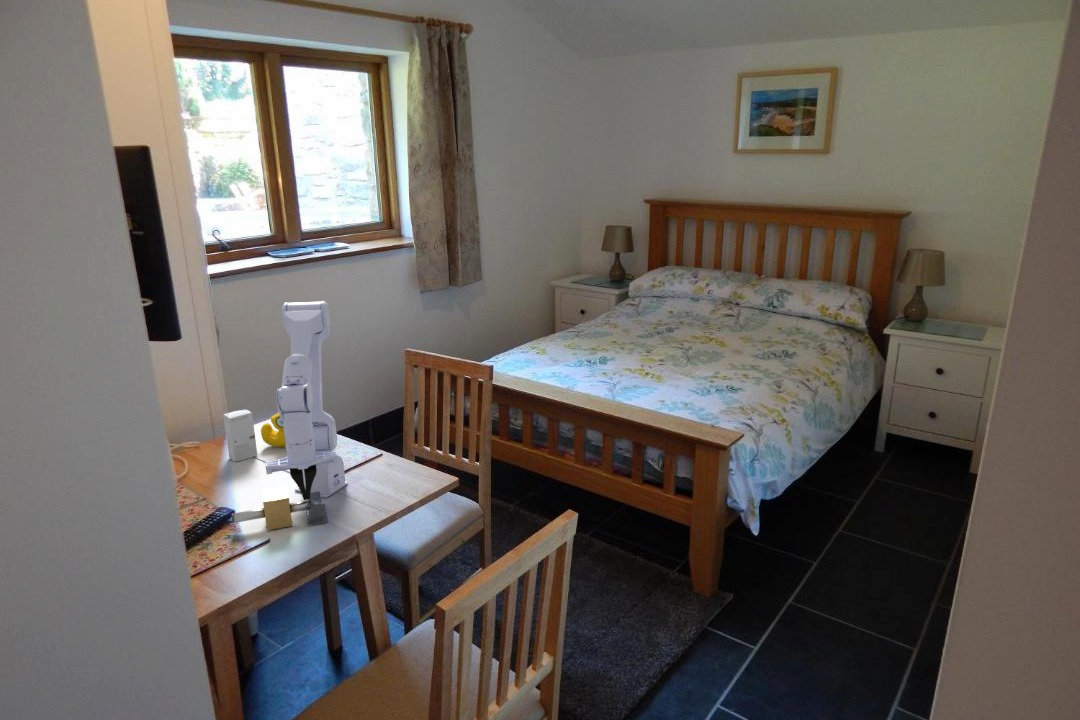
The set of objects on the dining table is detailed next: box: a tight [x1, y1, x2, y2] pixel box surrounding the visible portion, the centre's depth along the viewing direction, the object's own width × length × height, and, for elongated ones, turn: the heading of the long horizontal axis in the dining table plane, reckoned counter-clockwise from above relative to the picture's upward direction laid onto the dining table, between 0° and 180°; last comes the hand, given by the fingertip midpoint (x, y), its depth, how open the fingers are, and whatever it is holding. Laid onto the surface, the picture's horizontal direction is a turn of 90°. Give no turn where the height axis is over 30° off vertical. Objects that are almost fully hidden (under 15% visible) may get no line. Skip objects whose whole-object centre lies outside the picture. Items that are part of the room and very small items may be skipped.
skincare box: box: [222, 408, 258, 463], centre depth 184 cm, size 6×4×12 cm
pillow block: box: [306, 491, 329, 527], centre depth 155 cm, size 4×8×4 cm, turn 21°
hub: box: [262, 485, 293, 531], centre depth 152 cm, size 5×6×7 cm
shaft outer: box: [231, 507, 265, 524], centre depth 150 cm, size 9×2×2 cm, turn 111°
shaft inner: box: [290, 498, 323, 514], centre depth 153 cm, size 9×2×2 cm, turn 111°
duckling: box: [260, 412, 286, 449], centre depth 190 cm, size 11×5×10 cm, turn 85°
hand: (306, 497), depth 153 cm, fingers closed
